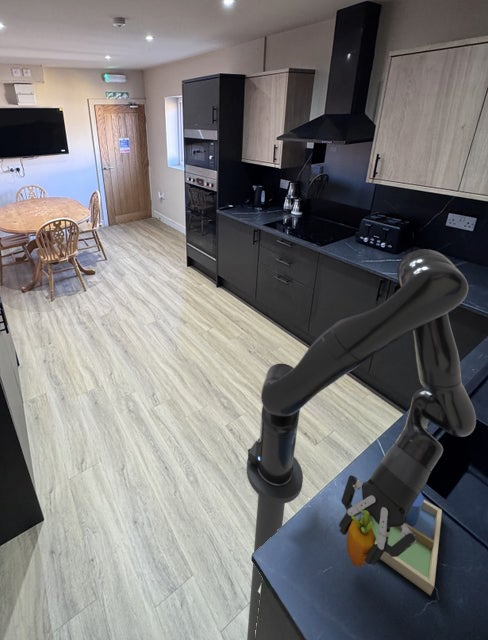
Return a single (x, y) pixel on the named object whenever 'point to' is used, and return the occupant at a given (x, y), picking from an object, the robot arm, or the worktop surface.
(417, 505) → the blue cylinder
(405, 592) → the worktop surface
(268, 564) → the worktop surface
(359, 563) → the carrot
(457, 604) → the worktop surface
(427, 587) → the sorting tray
